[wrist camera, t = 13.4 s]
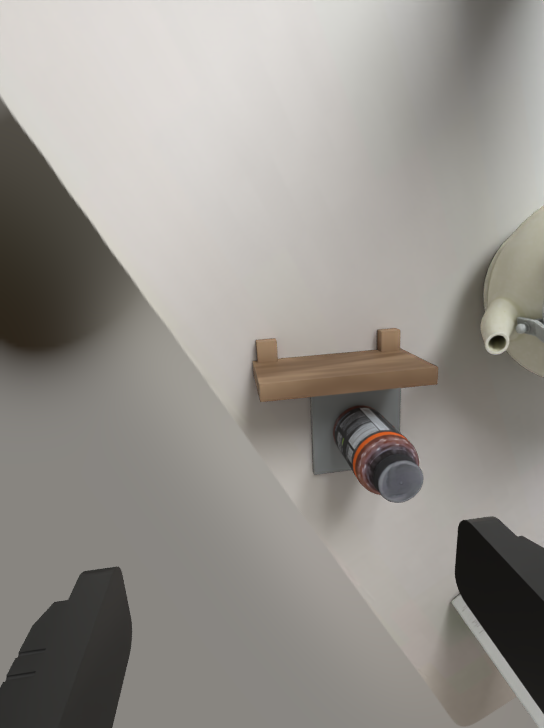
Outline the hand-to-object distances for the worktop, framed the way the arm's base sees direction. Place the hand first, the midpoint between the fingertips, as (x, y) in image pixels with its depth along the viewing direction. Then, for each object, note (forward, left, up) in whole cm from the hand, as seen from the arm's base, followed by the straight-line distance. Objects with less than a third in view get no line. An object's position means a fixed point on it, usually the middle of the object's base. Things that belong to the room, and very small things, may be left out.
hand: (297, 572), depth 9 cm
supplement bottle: (+12, +12, -32) cm, 36 cm away
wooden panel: (+4, +9, -32) cm, 34 cm away
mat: (+12, +12, -32) cm, 36 cm away
